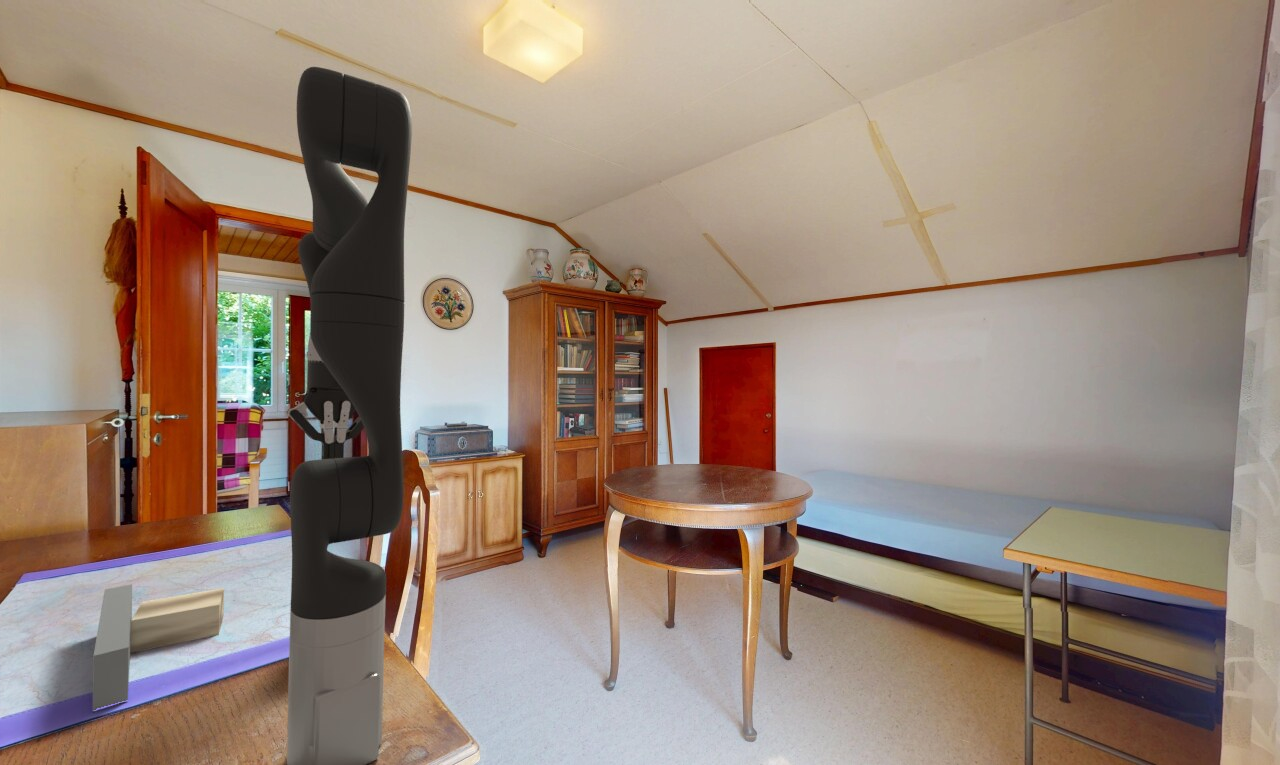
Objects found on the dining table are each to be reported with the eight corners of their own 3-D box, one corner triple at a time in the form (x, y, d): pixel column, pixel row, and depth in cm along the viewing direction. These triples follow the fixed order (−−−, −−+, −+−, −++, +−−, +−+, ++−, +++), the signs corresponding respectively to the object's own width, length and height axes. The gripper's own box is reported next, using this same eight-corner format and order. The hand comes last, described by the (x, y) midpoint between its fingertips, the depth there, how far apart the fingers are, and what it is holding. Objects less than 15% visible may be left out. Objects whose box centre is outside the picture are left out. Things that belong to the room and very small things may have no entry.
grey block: (127, 701, 63) (128, 647, 63) (92, 712, 61) (93, 655, 61) (131, 627, 80) (132, 584, 80) (104, 633, 78) (104, 589, 78)
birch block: (218, 635, 79) (219, 604, 79) (130, 654, 74) (131, 620, 74) (223, 617, 85) (224, 587, 85) (141, 632, 79) (142, 601, 79)
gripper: (291, 357, 74) (288, 474, 74) (386, 361, 83) (383, 465, 84) (281, 357, 79) (278, 466, 80) (372, 360, 89) (369, 458, 89)
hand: (332, 465), depth 82 cm, fingers closed
